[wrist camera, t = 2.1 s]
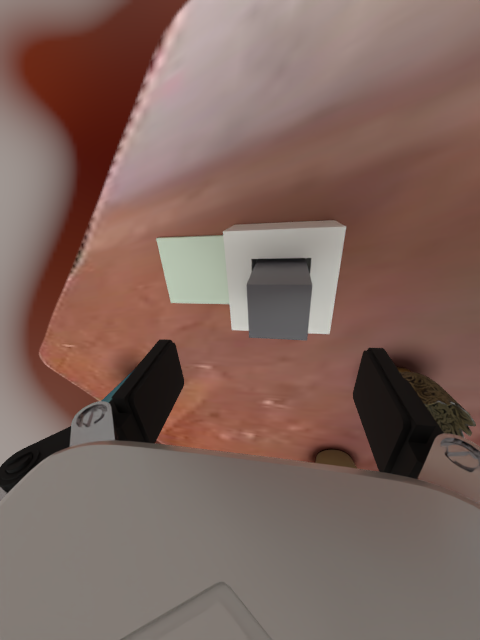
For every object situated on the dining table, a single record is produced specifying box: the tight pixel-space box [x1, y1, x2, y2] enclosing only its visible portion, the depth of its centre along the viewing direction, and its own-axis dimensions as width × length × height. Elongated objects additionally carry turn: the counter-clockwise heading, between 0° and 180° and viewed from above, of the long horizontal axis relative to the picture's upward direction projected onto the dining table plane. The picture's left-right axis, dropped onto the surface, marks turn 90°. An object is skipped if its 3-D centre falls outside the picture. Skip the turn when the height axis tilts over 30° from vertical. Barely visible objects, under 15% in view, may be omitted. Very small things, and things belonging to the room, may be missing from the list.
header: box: [223, 220, 346, 334], centre depth 23 cm, size 10×10×5 cm
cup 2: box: [397, 367, 476, 438], centre depth 26 cm, size 8×7×8 cm
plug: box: [247, 258, 312, 340], centre depth 21 cm, size 4×4×10 cm
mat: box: [156, 235, 229, 304], centre depth 27 cm, size 8×8×1 cm
